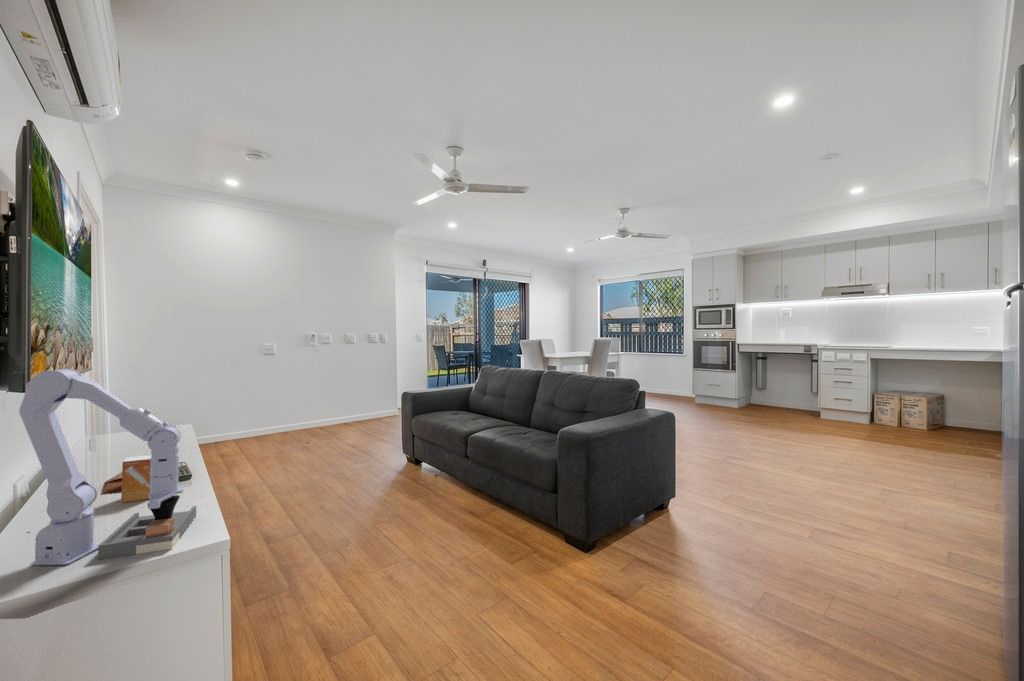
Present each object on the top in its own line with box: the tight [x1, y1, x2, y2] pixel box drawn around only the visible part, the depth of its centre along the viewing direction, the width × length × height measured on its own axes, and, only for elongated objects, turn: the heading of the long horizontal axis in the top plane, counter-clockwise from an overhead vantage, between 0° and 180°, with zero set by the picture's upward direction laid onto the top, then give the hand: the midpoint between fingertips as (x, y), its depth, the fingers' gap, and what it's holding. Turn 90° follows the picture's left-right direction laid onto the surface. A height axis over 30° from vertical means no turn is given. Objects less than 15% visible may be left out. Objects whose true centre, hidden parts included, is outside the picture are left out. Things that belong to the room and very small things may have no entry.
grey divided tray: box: [97, 505, 197, 560], centre depth 113 cm, size 21×14×3 cm, turn 23°
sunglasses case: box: [101, 471, 122, 496], centre depth 152 cm, size 18×7×7 cm
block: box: [146, 518, 174, 538], centre depth 108 cm, size 4×4×4 cm
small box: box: [120, 454, 151, 503], centre depth 140 cm, size 8×6×13 cm
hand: (163, 527), depth 111 cm, fingers closed
